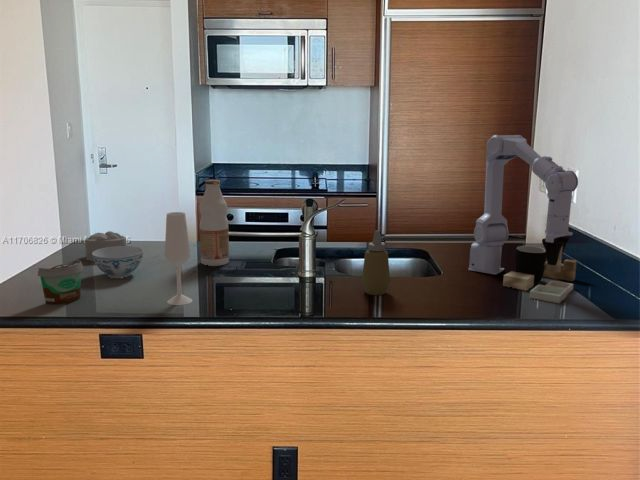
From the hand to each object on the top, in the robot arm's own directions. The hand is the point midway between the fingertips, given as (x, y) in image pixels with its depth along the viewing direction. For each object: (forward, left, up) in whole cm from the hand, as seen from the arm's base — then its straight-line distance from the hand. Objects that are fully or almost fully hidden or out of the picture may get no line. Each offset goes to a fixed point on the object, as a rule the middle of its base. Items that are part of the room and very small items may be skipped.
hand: (553, 263), depth 164 cm
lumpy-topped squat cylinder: (-135, -51, -10) cm, 145 cm away
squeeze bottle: (-41, -28, -10) cm, 51 cm away
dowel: (0, 0, -2) cm, 2 cm away
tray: (0, -2, -10) cm, 10 cm away
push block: (-10, +4, -10) cm, 15 cm away
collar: (0, +8, -10) cm, 12 cm away
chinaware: (-113, -62, -10) cm, 129 cm away
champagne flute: (-79, -67, -10) cm, 104 cm away
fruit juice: (-101, -33, -10) cm, 106 cm away
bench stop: (-7, +20, -9) cm, 23 cm away
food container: (-103, -85, -10) cm, 134 cm away
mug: (-10, +12, -10) cm, 19 cm away
